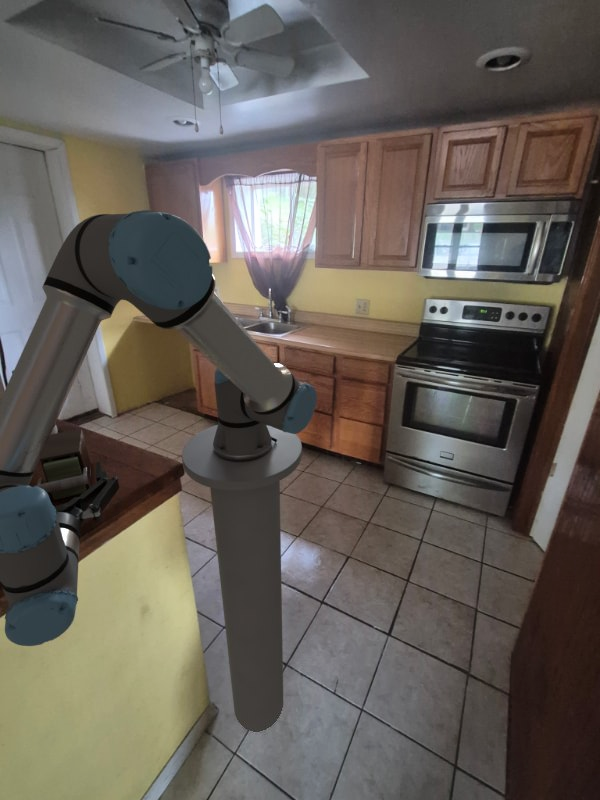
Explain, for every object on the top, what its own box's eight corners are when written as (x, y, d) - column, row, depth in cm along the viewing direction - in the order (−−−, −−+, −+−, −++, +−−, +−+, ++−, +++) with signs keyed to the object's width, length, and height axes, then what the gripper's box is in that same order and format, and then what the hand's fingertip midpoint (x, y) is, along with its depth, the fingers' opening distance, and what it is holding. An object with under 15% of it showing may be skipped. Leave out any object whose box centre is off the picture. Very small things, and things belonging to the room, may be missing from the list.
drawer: (93, 504, 77) (84, 469, 74) (42, 517, 73) (30, 481, 70) (94, 467, 90) (86, 435, 86) (50, 476, 86) (40, 444, 83)
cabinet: (90, 490, 83) (79, 451, 78) (52, 499, 80) (39, 459, 76) (91, 465, 92) (81, 428, 88) (57, 472, 89) (46, 435, 85)
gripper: (-40, 592, 55) (-7, 507, 72) (140, 537, 65) (131, 474, 83) (-59, 554, 52) (-20, 475, 69) (133, 503, 62) (125, 445, 80)
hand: (62, 475), depth 76 cm, fingers open, 13 cm apart
